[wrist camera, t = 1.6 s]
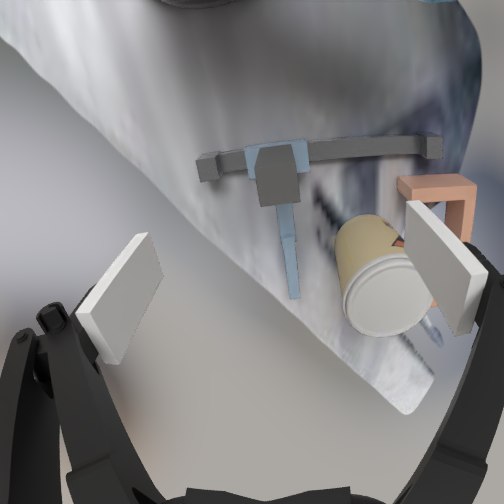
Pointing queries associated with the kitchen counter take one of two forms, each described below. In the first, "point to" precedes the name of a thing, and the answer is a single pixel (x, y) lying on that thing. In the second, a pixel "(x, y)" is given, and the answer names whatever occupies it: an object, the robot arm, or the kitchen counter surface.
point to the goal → (444, 199)
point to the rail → (332, 151)
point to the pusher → (280, 191)
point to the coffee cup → (378, 278)
